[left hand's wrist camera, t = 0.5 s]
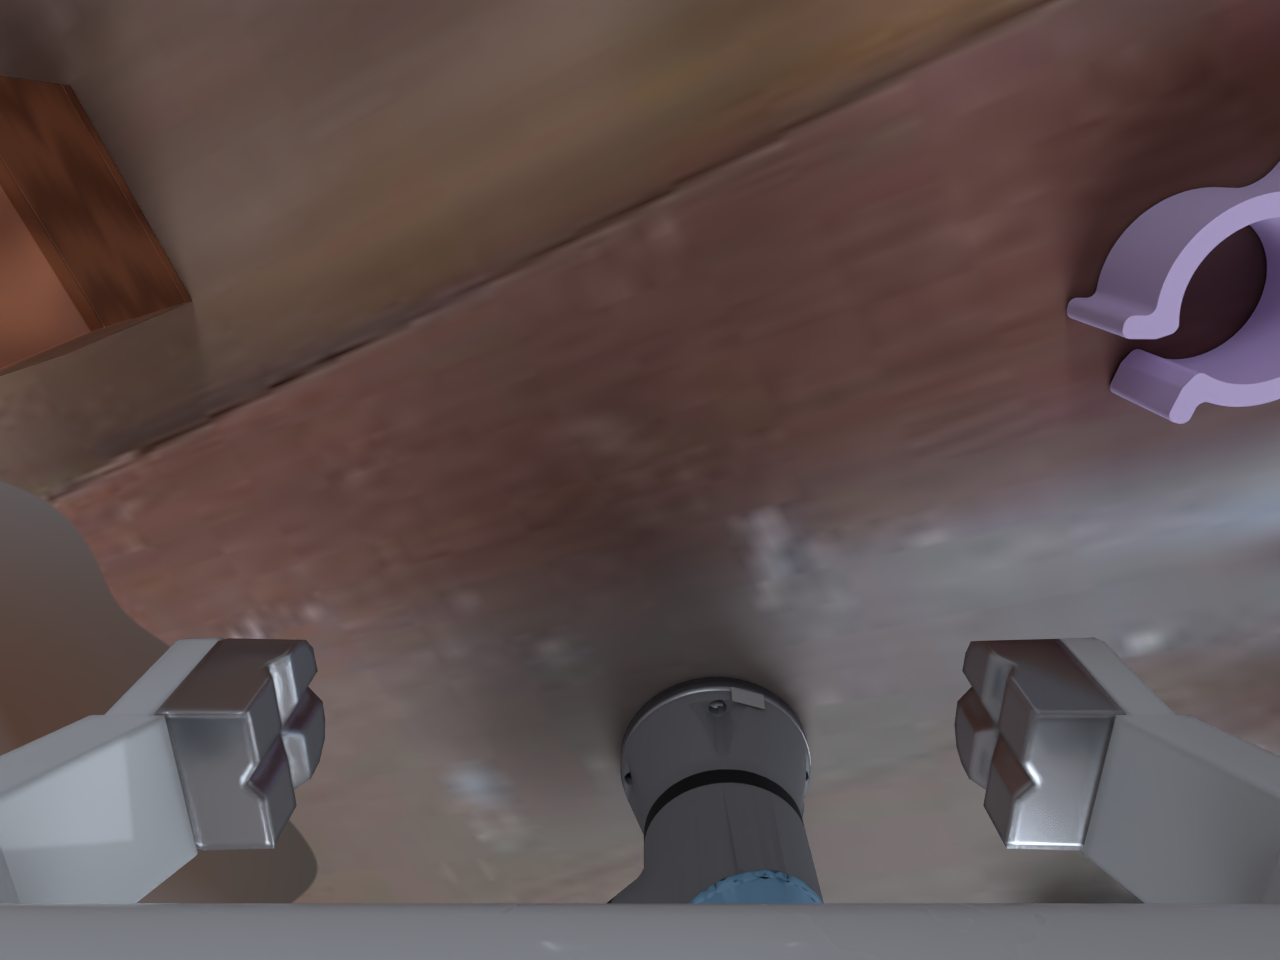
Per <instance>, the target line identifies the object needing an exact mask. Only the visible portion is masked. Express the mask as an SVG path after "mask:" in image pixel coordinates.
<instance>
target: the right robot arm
mask: <svg viewBox="0 0 1280 960" xmlns="http://www.w3.org/2000/svg"><path fill="white" fill-rule="evenodd" d="M810 770H811V759H810V752H809V748H808V744H807V741H806V737H805V734H804V731H803V728H802V726H801V724H800V722H799V720H798V718H797V717H796V715H795V714H794V712H793V711H792V710H791V709H790V707H789V706H788V705H787V704H786V703H785V702H784V701H782V700H781V699H780V698H779V697H777V696H776V695H775V694H773V693H771V692H770V691H768V690H766V689H764V688H762V687H760V686H757V685H755V684H752V683H749V682H746V681H742V680H737V679H730V678H704V679H697V680H692V681H688V682H685V683H681V684H678V685H676V686H674V687H671V688H669V689H667V690H665V691H663V692H661V693H660V694H658V695H657V696H655V697H654V698H652V699H651V700H650V701H649V702H647V703H646V704H645V705H644V706H643V707H642V708H641V709H640V710H639V712H638V713H637V714H636V715H635V717H634V718H633V720H632V721H631V723H630V725H629V726H628V728H627V731H626V733H625V736H624V739H623V743H622V750H621V779H622V784H623V788H624V791H625V794H626V796H627V799H628V801H629V803H630V806H631V808H632V810H633V812H634V814H635V817H636V819H637V821H638V823H639V825H640V828H641V830H642V832H643V834H644V869H643V871H642V873H641V875H640V876H639V877H638V878H637V879H636V880H635V881H634V882H632V883H631V884H630V885H629V886H627V887H626V888H625V889H624V890H622V891H621V892H620V893H618V894H617V895H616V896H615V897H614V898H613V899H611V900H610V901H609V902H608V903H606V904H824V903H823V899H822V895H821V891H820V887H819V883H818V879H817V875H816V871H815V867H814V863H813V859H812V855H811V851H810V847H809V843H808V840H807V836H806V832H805V828H804V824H803V820H802V817H803V811H804V797H805V795H806V792H807V788H808V785H809V779H810Z"/></svg>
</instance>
